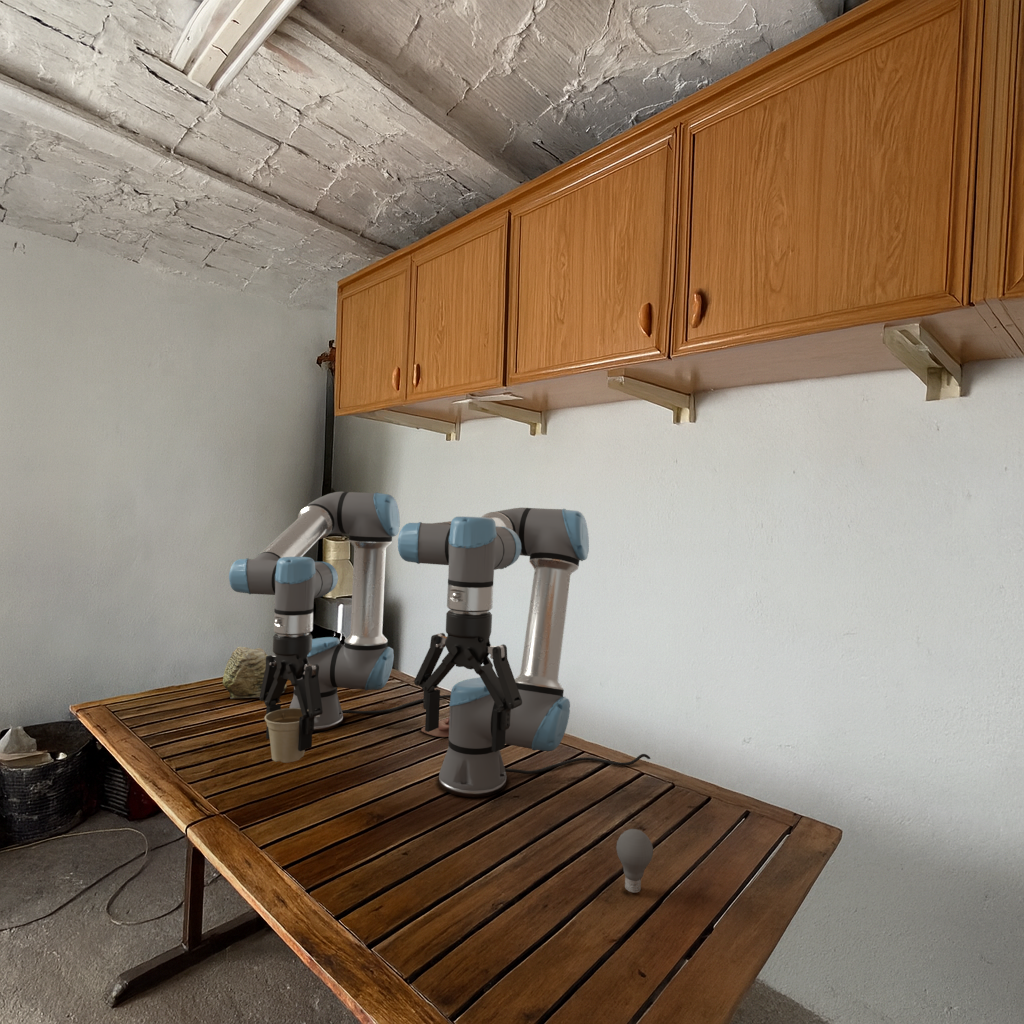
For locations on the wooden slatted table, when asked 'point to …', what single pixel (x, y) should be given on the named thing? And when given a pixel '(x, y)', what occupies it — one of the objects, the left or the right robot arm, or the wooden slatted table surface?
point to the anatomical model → (440, 729)
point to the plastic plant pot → (284, 734)
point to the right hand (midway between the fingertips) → (463, 738)
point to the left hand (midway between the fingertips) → (288, 742)
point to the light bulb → (634, 857)
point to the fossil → (245, 673)
